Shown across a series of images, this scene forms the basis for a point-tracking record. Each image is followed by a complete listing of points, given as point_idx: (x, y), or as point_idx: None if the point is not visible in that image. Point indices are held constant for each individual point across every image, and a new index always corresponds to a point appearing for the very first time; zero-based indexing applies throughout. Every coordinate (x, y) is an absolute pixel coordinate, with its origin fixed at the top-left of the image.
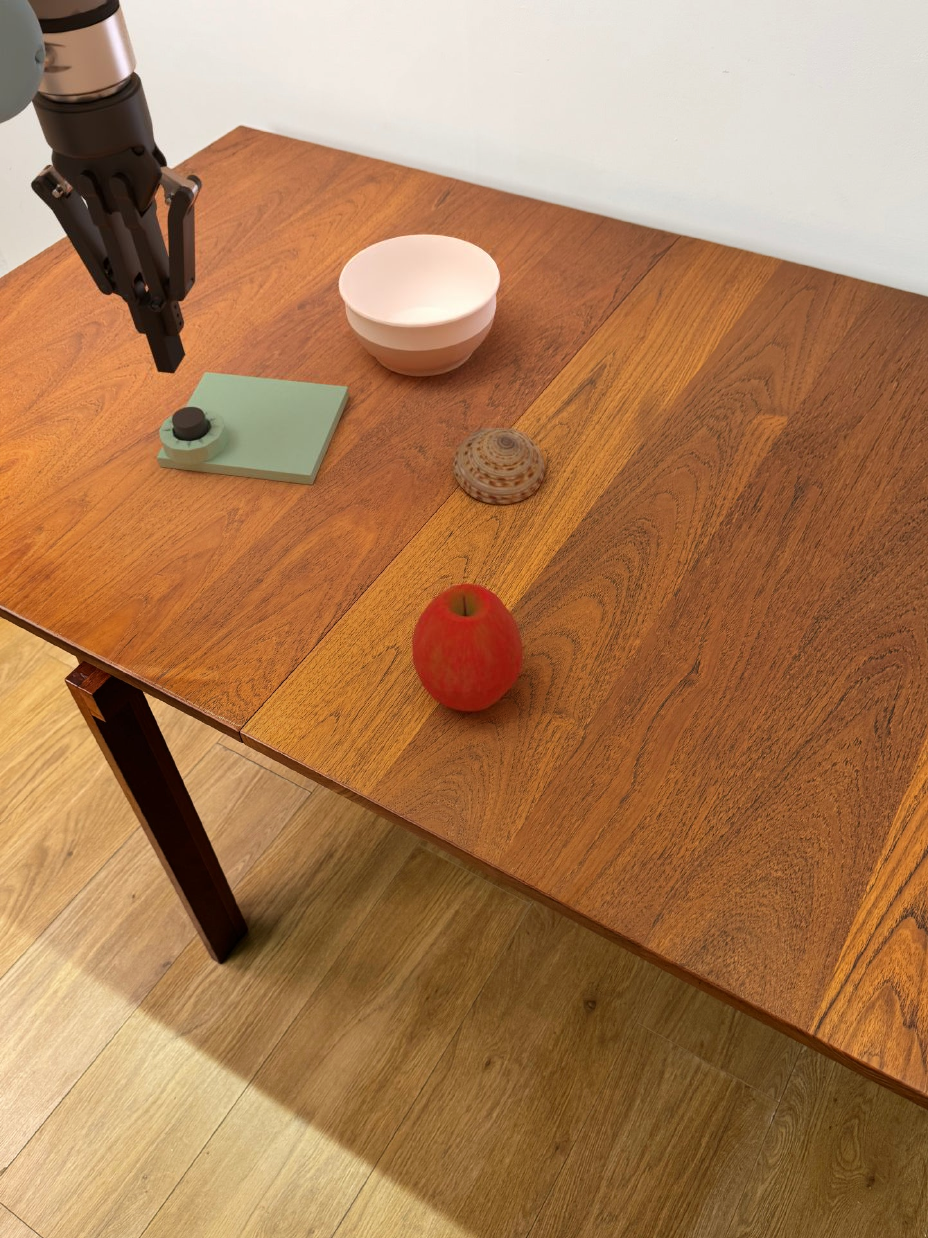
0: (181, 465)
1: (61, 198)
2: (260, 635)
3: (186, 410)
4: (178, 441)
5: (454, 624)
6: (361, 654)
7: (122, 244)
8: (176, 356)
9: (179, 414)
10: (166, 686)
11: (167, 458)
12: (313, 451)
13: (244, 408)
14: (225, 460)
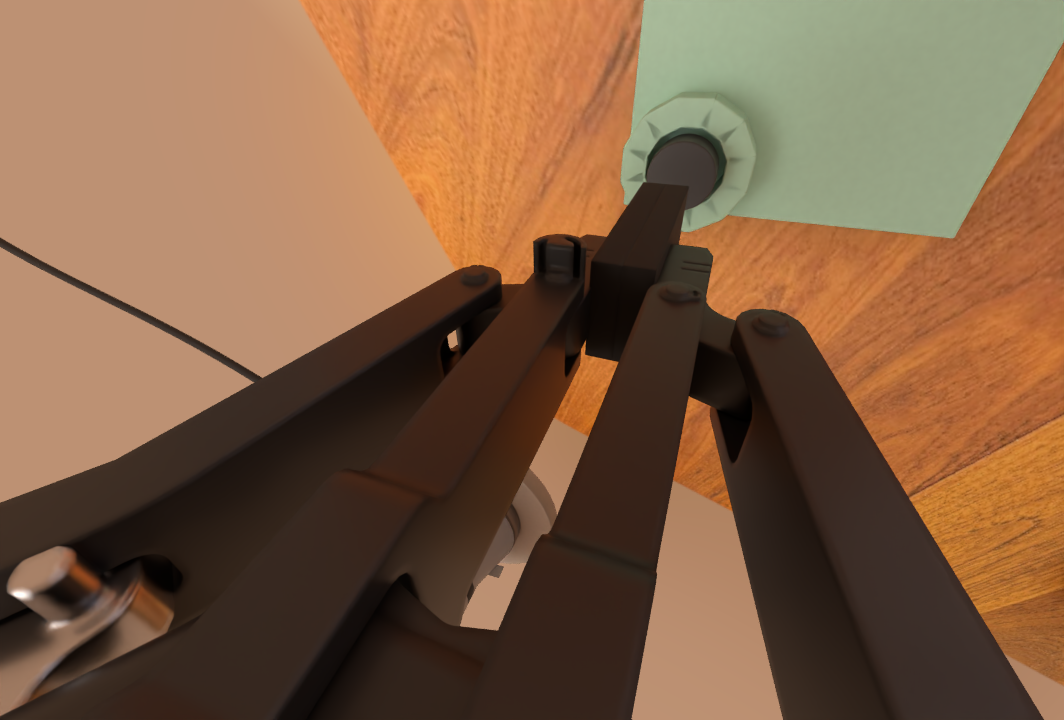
0: None
1: (179, 610)
2: None
3: (672, 156)
4: None
5: None
6: (974, 518)
7: (510, 484)
8: (677, 240)
9: (660, 172)
10: (721, 504)
11: None
12: (976, 164)
13: (787, 17)
14: (756, 205)
